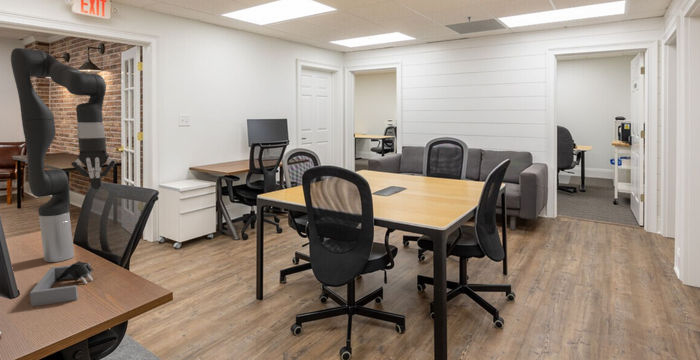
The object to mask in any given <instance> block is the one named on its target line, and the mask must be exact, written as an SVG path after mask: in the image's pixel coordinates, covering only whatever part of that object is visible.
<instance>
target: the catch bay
mask: <svg viewBox="0 0 700 360" xmlns="http://www.w3.org/2000/svg"><path fill="white" fill-rule="evenodd" d="M87 263H88V264H89V265H90V266H91V263H90V262H87ZM71 265H72V264H70V265H69V264H68V265H59V266H52V267H50V268H49V269H48V270H47V271H46V273H45V274H44V275H43V276H42V277H41V279H40V280H39V281H38V283H37V284H36V285H35V286H34V287H33V288H32V290H31V291H30V292H29V297H30V305H31V307H36V306H42V305H52V304H57V303H66V302H71V301H72V302H73V301H78V299H79V295H78V294H79V293H78V285H77V284H75V285H67V286H59V287H53V285H54V284H55V283H56V282H57V281H56V279H57V278H59V277H60V275H61V274H62V273H63V272H64V271H65V270H66V269H67V268H68V267H70V266H71ZM89 275H90V276H91V275H92V271H91V272H90V273H89ZM85 277H86V278H87V275H86V276H84V278H85ZM68 279H73V277H72V276H71V275H70V274H69V275H67V276H65V277H63V278H61V279H60V280H61V281H62V280H68ZM60 280H59V281H60Z"/></svg>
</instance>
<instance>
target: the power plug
mask: <svg viewBox="0 0 700 360" xmlns="http://www.w3.org/2000/svg"><path fill="white" fill-rule="evenodd" d="M88 263H89V262H83V261H82V262H81V261H77V262H74V263H72V264H70V265H71V266H70V267H68V268H67V269H66V270H65V271H64V272H63V273H62V274H61V275H60V277H59V278H57V279H56V281H55V282H57V281H60V279H61V278H63V277H65V276H67V275H69V274H70V275H71V276H72V277H73V278H72V279H73V280H74V281H75V282H77V281H79V280H81V281H82V282H83V284H85V285H87V284H88V281H87V280H86V278H88V280H90V282H93V280H94V279H93V277H92V276H91V275H89V273H90V272H91V273H92V271H94V269H93V268H92V267H91V264H90V265H89V264H88ZM86 275H87V276H86ZM84 276H86V278H85V277H84Z"/></svg>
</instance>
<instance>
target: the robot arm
mask: <svg viewBox="0 0 700 360" xmlns="http://www.w3.org/2000/svg"><path fill="white" fill-rule="evenodd" d="M10 62H11V63H10V64H11V68H12V74H13V78H14V81H15V85H16V88H17V89H16V90H17V95H18V100H19V108H20V115H21V124H22V130H23V135H24V140H25V148H26V155H27V156H26V157H27V176H28V177H27V179H28V186H29V189H30V192H31V194H32V195H33V196H34V197H36V198H43V197H44V198H45V197H50V196H51V198H50V199H49V200H47V202H45V203H44V204H42V205H40V206H39V207H38V209H37V212H38V220H39V227H40V236H41V243H42V252H43V260H44V262H47V263H55V262H56V263H57V262H63V261H66V260H70V259H72V258H73V257H75V252H74V241H73V233H72V224H71V214H70V206H71V204H70V203H71V200H70V199H71V198H70V182H69V176H68V174H67V173H66V172H65V170H63V169H61V168H55V169H47V170H45V157H46V154H47V151H48V150H49V148H50V146H51V144H52V143H53V142H54V139H55V137H56V133H57V132H56V125H55V124H56V123H55V117H54V113H53V112H52V110H51V109H50V107H49V106H48V105H47V104H46V103H45V102H44V101H43V98H41V97H40V96H39V94H38V93H37V91H36V89H35V88H34V85H33V82H32V79H31V78H32V77H34V78H46V77H48V78H50V79H51V80H52V81H53V82H54V83H55V84H57V85H58V86H61V87H63V88H65V89H66V90H67V91H68V93H70V94H72V95H74V96H88V97H89V98H88V101H87V102H84V103H79V104H77V105H76V107H75V109H76V110H75V111H76V121H77V125H76V126H77V135H76V136H77V142H78V149H79V153H78V156H77V159H76V160H74V161H72V162H71V166H72V167H73V168H74V169H76V170H77V172H79V173H80V174H81V175H82V176H83V177H84V178H89V179H90V187H91V188H92V189H93V190H100V189H101V188H102V186H103V184H102V178H103V177H105V176H106V175H108V173H109V172H110V171H111V169H112V168H113V167H114V166H115V164H116V163H117V161H116V160H115V159H113V158H111V157H109V156H110V155H109V154H108V152H107V144H106V143H107V142H106V133H105V132H106V131H105V126H104V120H103V106H104V101H105V95H106V93H107V92H106V90H107V84H106V81H105V79H104V78H103V76H102V75H100V74H98V73H90V72H89V73H88V72H87V73H86V72H82V71H81V70H79V69H77V68H75V67H73V66H71V65H67V64H65V63H63V62H61V61H59V60H58V59H56V58H55V57H54V56H52V55H51V54H49V53H48V52H46V51H44V50H38V49H31V48H29V49H28V48H22V47H20V48H19V47H17V48H14V49H12V51H11V54H10ZM105 163H106V164H107V167H105V169H104V170H103V171H102V167H103V166H104V165H105ZM82 164H83V165H84V166H85V167H86V168H87V169H85V168H84V167H83V166H82Z"/></svg>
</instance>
